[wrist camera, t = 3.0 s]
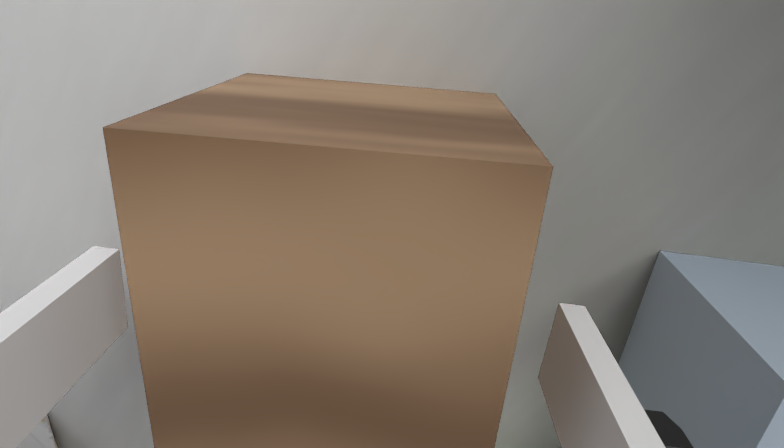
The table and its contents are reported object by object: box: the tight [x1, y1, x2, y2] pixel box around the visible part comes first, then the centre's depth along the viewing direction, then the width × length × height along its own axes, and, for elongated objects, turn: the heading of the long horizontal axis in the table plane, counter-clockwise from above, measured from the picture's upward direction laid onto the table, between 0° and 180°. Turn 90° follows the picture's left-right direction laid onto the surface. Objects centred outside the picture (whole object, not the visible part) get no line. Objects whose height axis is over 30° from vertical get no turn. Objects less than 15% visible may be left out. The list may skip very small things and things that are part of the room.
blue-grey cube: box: [618, 251, 784, 448], centre depth 16 cm, size 7×7×7 cm
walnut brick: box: [103, 73, 553, 448], centre depth 15 cm, size 12×8×8 cm, turn 176°
